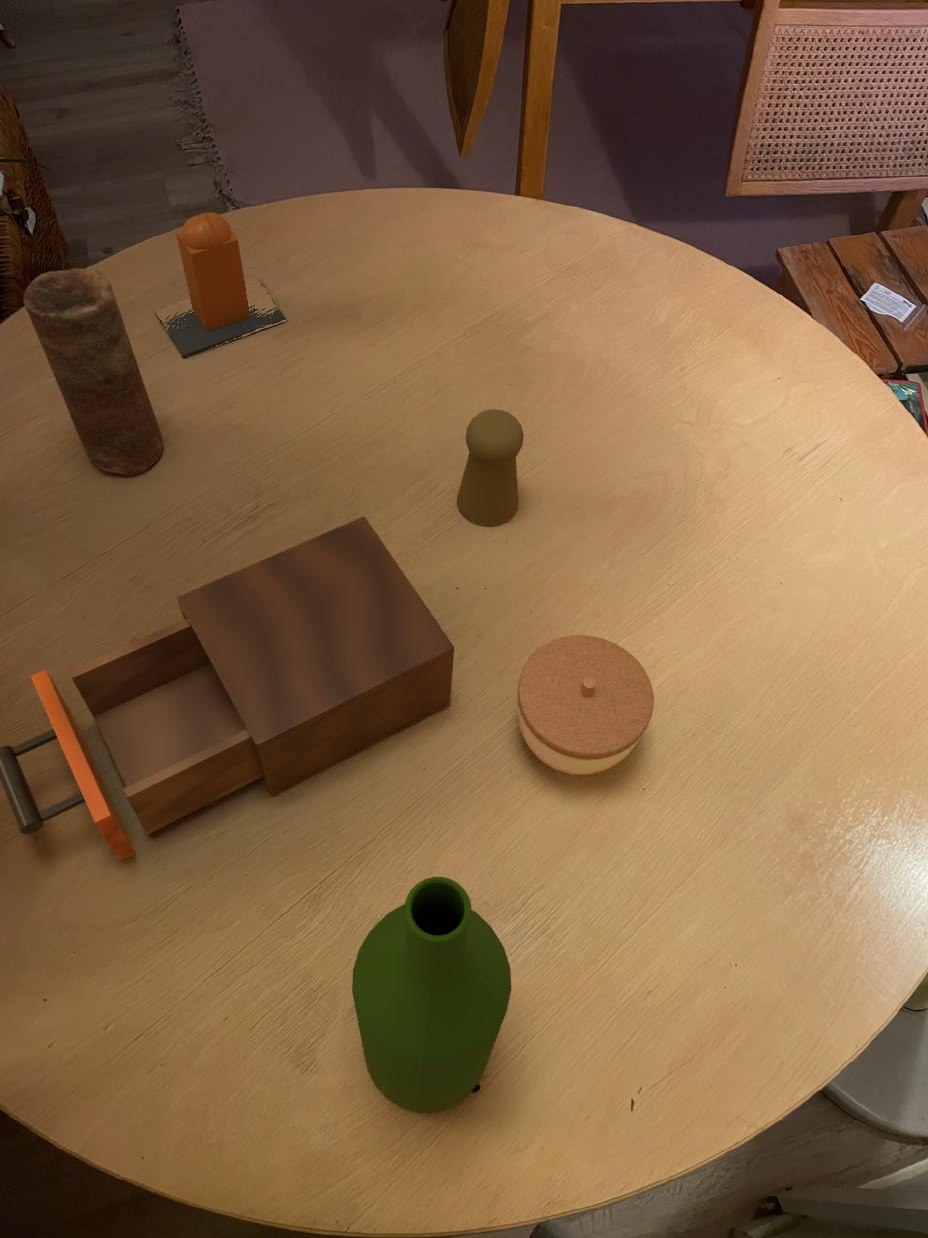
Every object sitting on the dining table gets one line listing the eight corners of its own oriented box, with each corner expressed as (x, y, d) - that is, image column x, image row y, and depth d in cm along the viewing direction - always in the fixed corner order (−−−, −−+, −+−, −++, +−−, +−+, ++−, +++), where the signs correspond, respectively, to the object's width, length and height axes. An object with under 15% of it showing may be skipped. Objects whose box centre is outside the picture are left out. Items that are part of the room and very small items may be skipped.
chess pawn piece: (447, 486, 102) (452, 407, 93) (504, 471, 103) (514, 392, 94) (469, 533, 99) (476, 456, 90) (527, 517, 100) (540, 440, 91)
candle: (72, 468, 101) (4, 306, 84) (104, 415, 105) (45, 249, 88) (146, 485, 100) (93, 325, 83) (175, 431, 104) (130, 267, 87)
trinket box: (542, 661, 92) (555, 602, 84) (654, 713, 89) (679, 658, 81) (488, 758, 86) (496, 706, 78) (605, 817, 84) (626, 769, 76)
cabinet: (271, 797, 84) (256, 745, 75) (197, 659, 90) (176, 597, 82) (450, 706, 89) (454, 647, 81) (367, 581, 95) (364, 515, 87)
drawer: (56, 893, 78) (24, 857, 71) (-2, 750, 84) (-37, 704, 77) (304, 767, 84) (296, 723, 77) (234, 642, 90) (221, 591, 83)
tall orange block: (207, 331, 111) (187, 237, 101) (192, 309, 113) (171, 213, 103) (250, 316, 113) (235, 221, 102) (235, 294, 114) (218, 199, 104)
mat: (183, 358, 109) (182, 355, 109) (154, 312, 113) (153, 309, 113) (286, 321, 113) (286, 318, 113) (255, 278, 117) (254, 274, 116)
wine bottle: (477, 972, 77) (517, 802, 50) (498, 1102, 72) (554, 995, 45) (357, 990, 76) (330, 826, 48) (371, 1123, 71) (348, 1026, 44)
